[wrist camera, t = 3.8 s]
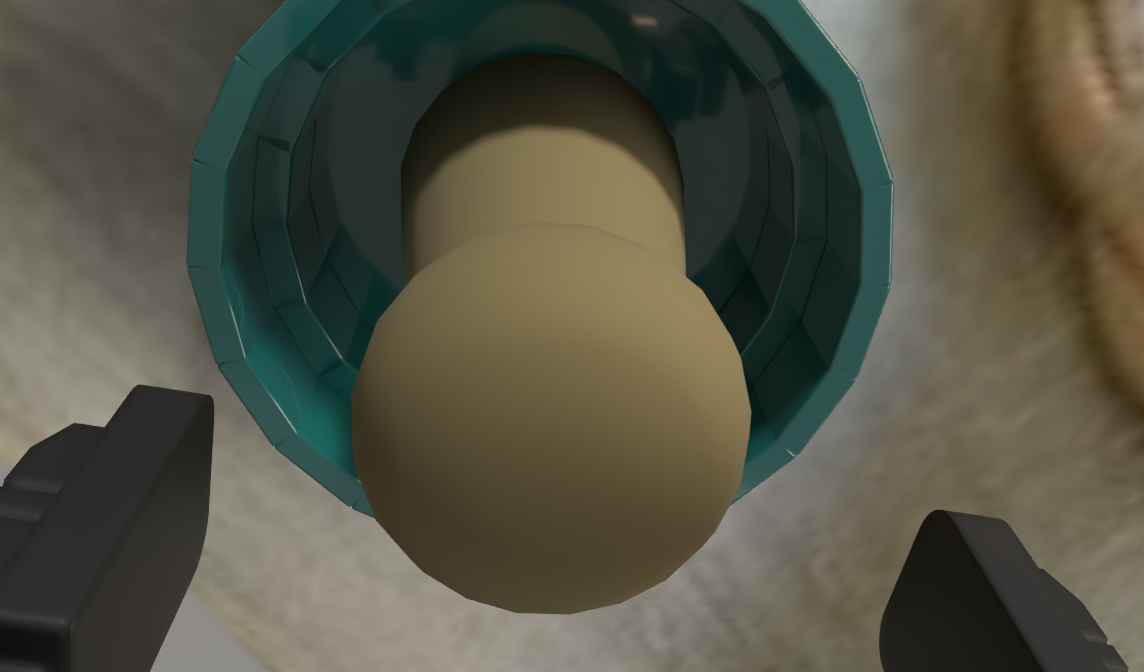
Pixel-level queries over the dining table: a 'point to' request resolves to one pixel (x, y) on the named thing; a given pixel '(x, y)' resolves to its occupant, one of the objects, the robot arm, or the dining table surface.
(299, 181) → the bowl
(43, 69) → the dining table surface
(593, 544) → the cork
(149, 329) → the dining table surface
